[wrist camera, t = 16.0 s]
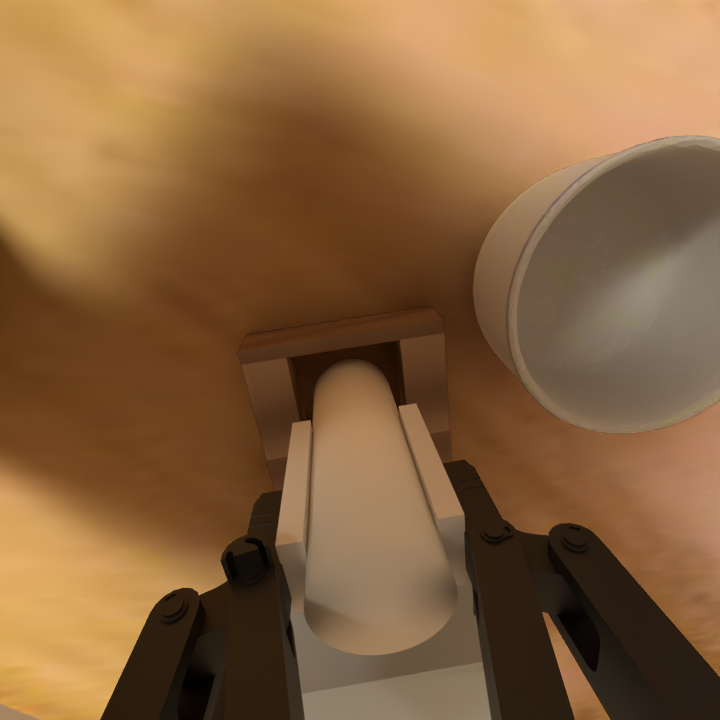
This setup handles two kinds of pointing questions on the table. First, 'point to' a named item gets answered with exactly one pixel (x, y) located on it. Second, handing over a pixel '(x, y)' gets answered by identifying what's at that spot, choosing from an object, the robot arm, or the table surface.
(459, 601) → the cover
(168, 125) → the table surface
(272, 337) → the wooden tray
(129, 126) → the table surface
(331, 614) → the pin
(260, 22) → the table surface
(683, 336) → the teacup
